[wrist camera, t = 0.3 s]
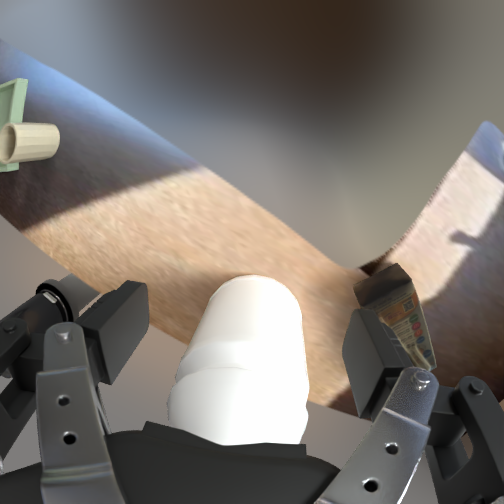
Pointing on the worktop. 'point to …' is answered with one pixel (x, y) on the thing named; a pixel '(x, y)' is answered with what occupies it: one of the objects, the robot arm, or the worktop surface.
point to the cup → (28, 142)
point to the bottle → (244, 367)
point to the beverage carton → (399, 312)
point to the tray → (12, 109)
